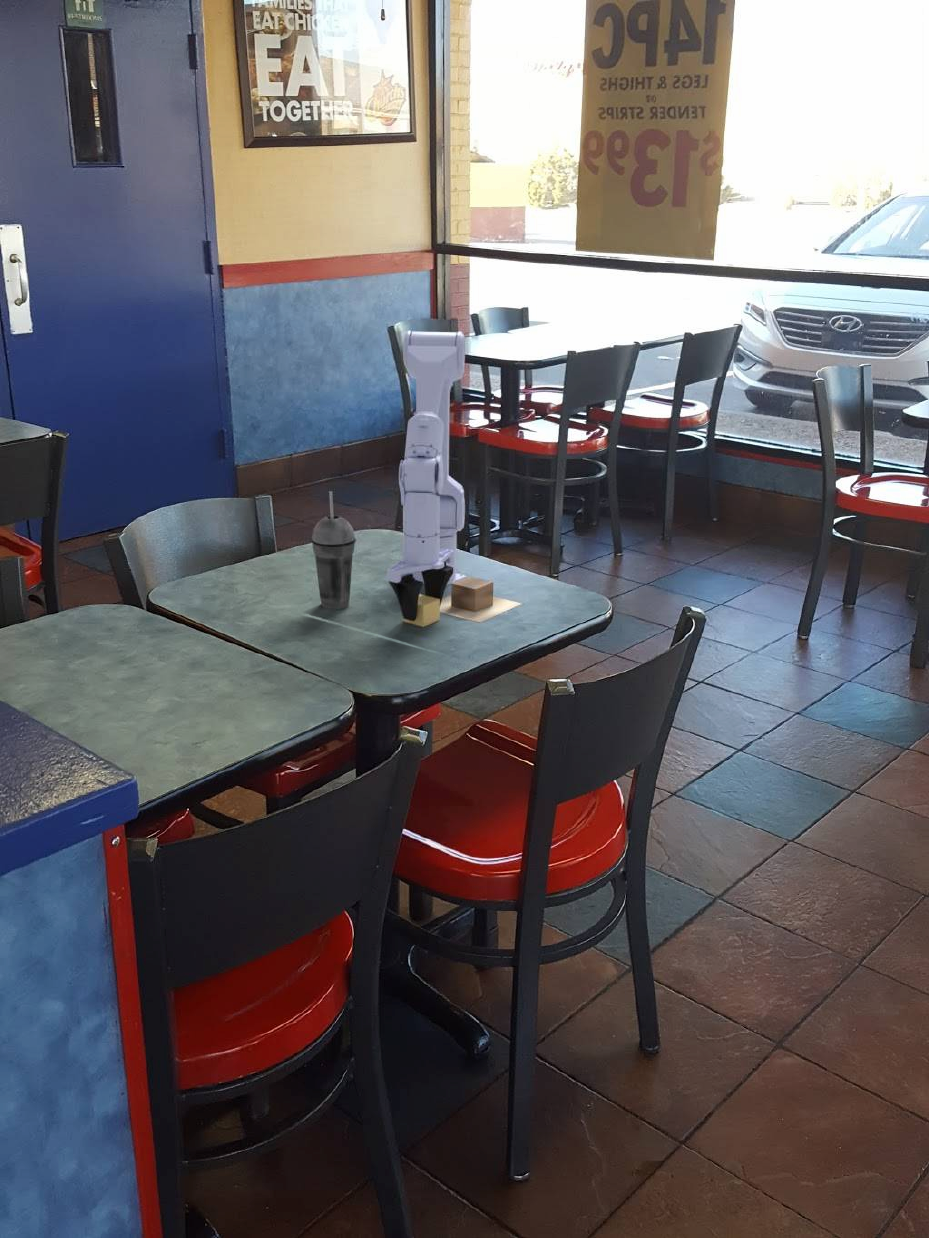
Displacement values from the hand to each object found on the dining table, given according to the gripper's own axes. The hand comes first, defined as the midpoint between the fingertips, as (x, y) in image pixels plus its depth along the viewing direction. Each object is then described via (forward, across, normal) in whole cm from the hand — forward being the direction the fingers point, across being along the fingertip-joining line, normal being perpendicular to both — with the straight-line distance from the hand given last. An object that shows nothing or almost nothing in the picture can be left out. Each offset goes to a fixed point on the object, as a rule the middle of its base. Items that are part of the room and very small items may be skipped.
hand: (421, 614), depth 193 cm
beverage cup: (+2, -3, +16) cm, 16 cm away
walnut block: (+1, +11, -2) cm, 11 cm away
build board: (+1, +11, -2) cm, 11 cm away
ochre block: (+2, 0, 0) cm, 2 cm away
